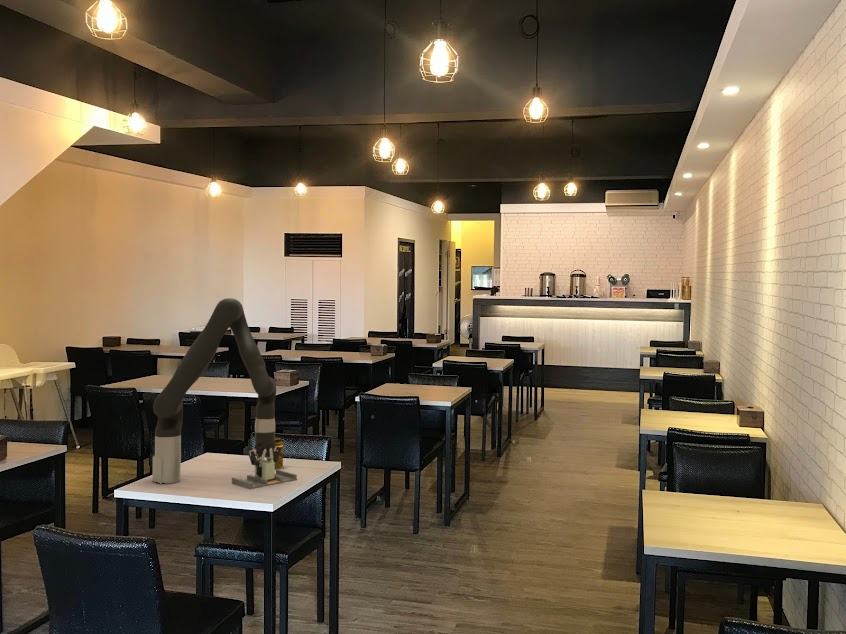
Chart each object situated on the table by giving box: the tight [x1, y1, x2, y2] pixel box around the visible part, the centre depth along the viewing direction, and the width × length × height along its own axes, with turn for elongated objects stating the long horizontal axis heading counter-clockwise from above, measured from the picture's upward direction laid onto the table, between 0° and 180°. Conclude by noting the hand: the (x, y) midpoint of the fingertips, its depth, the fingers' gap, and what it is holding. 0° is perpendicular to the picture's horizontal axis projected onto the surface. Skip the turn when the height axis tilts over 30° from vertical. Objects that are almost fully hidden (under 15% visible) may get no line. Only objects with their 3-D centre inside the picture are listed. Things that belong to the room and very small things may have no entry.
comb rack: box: [231, 469, 297, 490], centre depth 290 cm, size 21×12×2 cm, turn 136°
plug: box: [254, 459, 276, 480], centre depth 290 cm, size 4×7×6 cm, turn 46°
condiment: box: [272, 437, 284, 471], centre depth 313 cm, size 7×8×12 cm
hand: (264, 475), depth 290 cm, fingers closed on plug, 3 cm apart
